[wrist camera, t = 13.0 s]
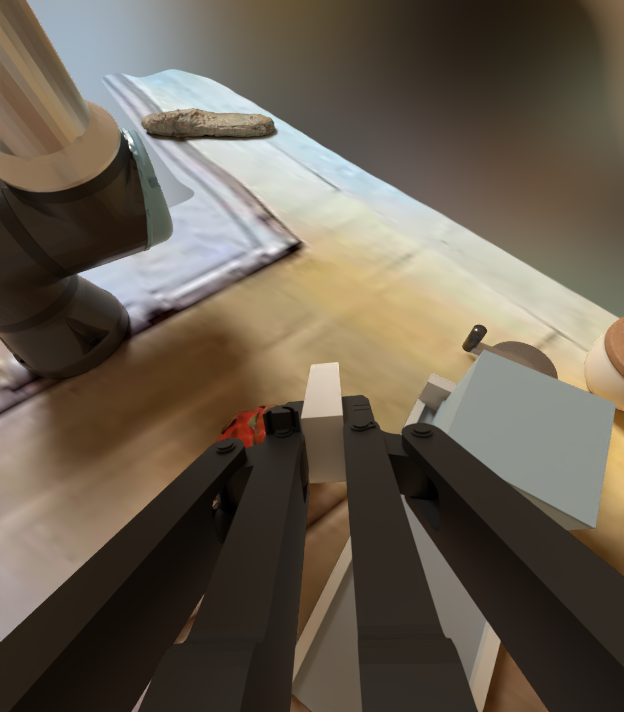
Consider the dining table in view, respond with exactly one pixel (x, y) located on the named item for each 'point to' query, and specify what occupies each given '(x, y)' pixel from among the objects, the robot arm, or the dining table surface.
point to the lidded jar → (607, 365)
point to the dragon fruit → (246, 427)
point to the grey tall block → (533, 435)
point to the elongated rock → (207, 124)
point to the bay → (339, 623)
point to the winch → (511, 352)
